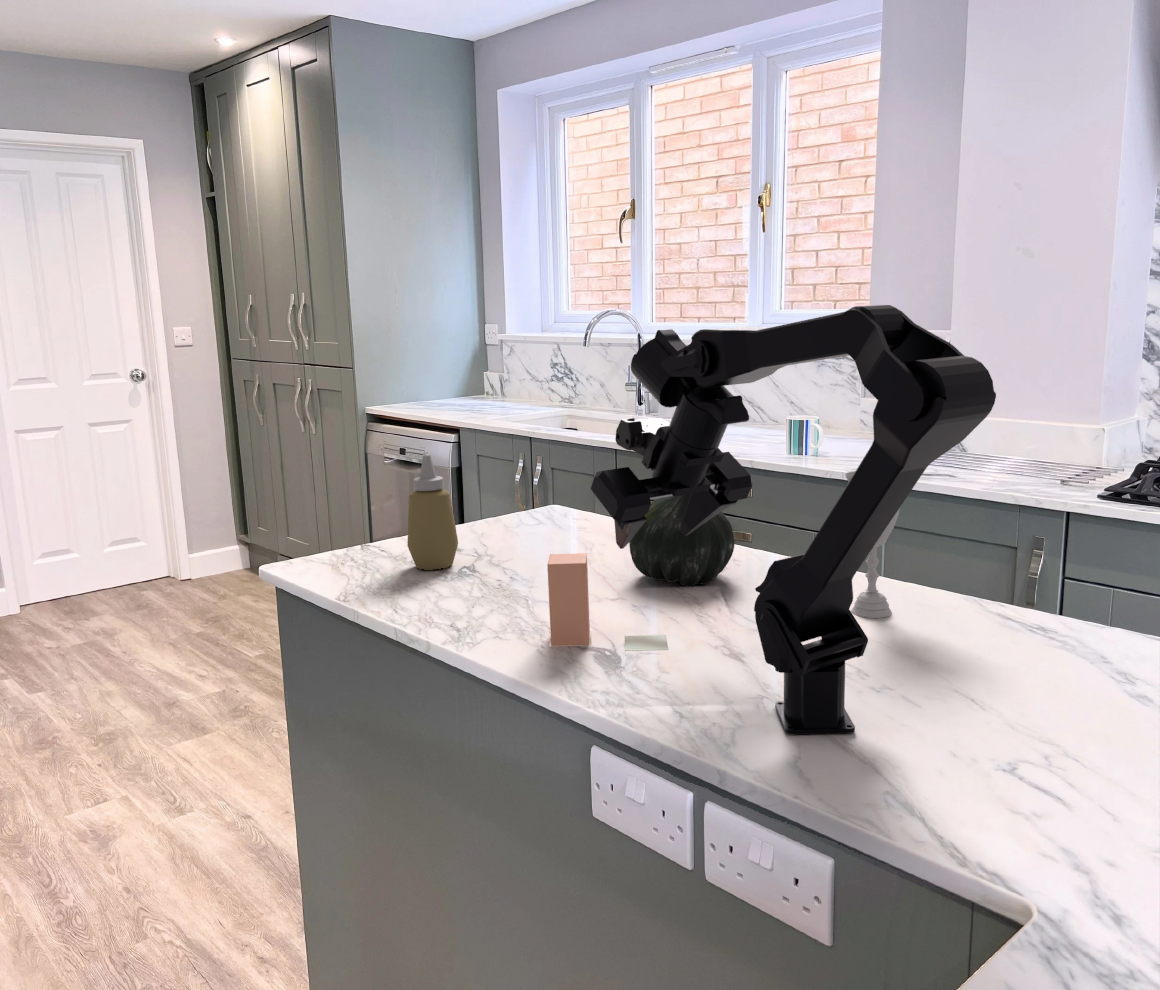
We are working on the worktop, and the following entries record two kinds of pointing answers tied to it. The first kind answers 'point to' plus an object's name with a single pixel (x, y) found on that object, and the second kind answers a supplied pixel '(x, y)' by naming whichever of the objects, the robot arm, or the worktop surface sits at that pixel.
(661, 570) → the squash
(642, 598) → the worktop surface
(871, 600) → the chalice
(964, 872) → the worktop surface
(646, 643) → the walnut board
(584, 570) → the terracotta block
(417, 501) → the squeeze bottle
